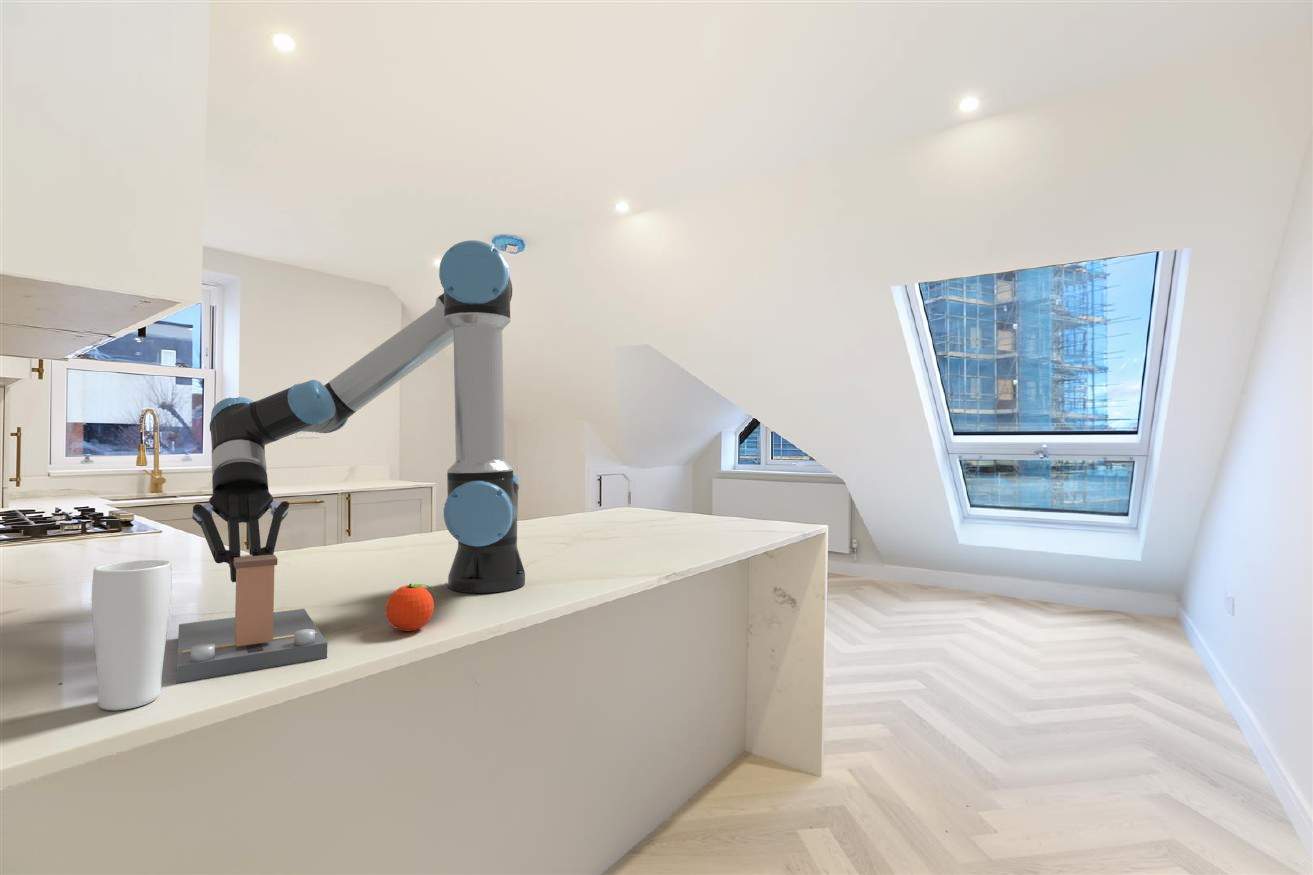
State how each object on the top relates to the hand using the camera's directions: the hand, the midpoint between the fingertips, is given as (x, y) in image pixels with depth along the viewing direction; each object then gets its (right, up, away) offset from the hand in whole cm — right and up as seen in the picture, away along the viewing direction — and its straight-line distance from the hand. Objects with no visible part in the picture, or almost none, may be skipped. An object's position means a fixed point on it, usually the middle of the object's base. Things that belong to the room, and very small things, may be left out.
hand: (248, 597), depth 90 cm
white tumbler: (+1, -6, -21) cm, 22 cm away
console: (+2, -6, -2) cm, 7 cm away
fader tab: (+5, -4, -7) cm, 10 cm away
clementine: (+21, -7, +7) cm, 23 cm away
